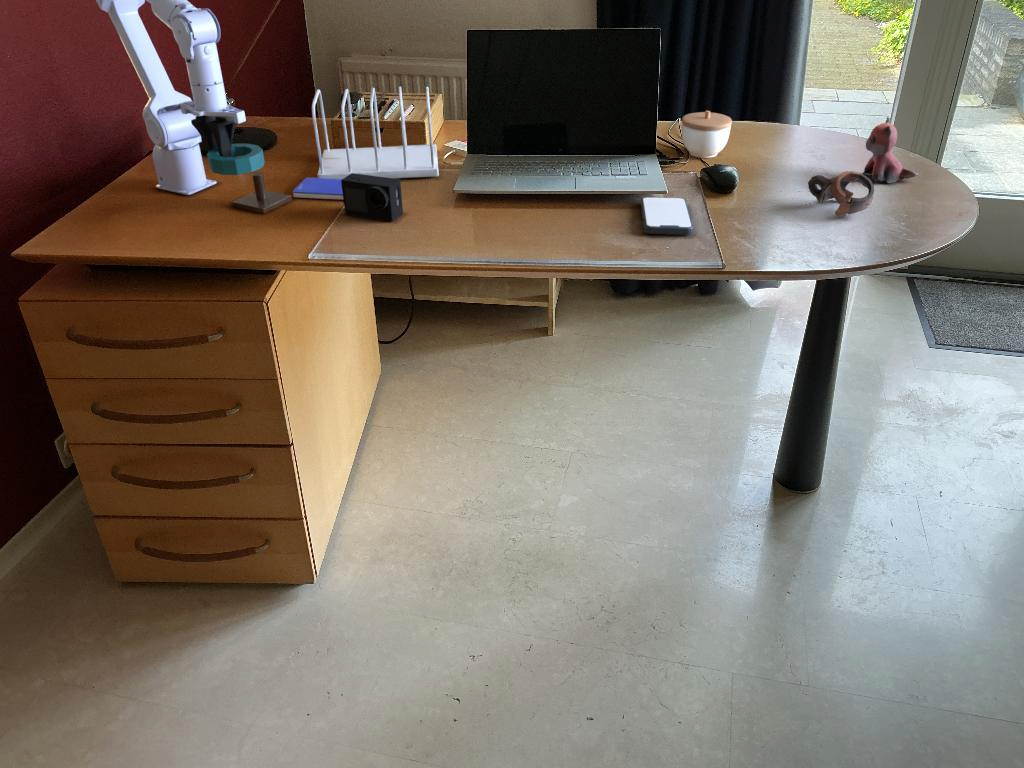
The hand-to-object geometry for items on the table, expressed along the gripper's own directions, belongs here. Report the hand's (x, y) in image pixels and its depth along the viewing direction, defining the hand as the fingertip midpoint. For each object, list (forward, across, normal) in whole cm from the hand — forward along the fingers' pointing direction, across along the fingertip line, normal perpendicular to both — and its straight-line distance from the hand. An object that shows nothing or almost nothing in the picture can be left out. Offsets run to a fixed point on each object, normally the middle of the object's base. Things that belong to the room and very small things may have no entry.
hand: (221, 155), depth 164 cm
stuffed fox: (+10, +111, +74) cm, 134 cm away
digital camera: (+10, +28, +8) cm, 31 cm away
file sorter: (+10, +13, +31) cm, 35 cm away
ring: (+1, +4, 0) cm, 4 cm away
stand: (+10, +5, +3) cm, 12 cm away
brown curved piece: (+10, +105, +53) cm, 118 cm away
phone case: (+10, +78, +33) cm, 85 cm away
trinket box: (+10, +72, +73) cm, 103 cm away
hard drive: (+10, +13, +14) cm, 22 cm away
